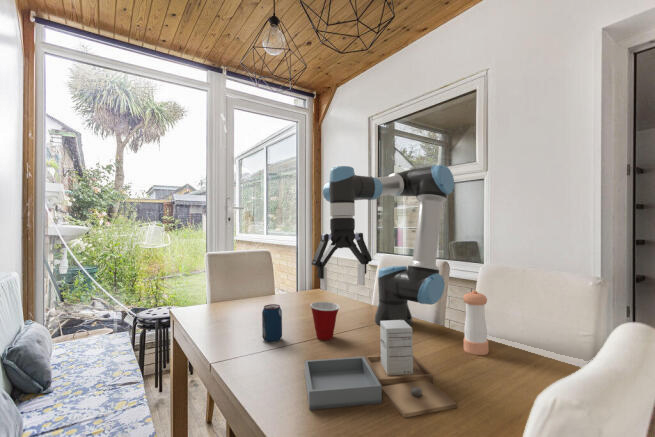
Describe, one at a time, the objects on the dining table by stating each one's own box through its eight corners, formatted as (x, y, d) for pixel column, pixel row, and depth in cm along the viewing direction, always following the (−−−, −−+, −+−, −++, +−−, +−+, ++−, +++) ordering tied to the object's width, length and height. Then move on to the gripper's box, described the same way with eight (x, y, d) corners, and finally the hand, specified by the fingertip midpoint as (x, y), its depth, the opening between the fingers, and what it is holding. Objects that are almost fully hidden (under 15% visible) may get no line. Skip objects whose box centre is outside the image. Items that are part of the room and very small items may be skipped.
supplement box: (380, 364, 94) (379, 320, 94) (405, 363, 95) (404, 319, 95) (386, 376, 87) (385, 328, 87) (413, 374, 87) (413, 327, 88)
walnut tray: (411, 359, 99) (411, 353, 99) (433, 382, 84) (433, 375, 85) (364, 362, 97) (364, 356, 97) (378, 386, 83) (378, 379, 83)
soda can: (285, 338, 119) (285, 304, 119) (275, 344, 112) (274, 309, 112) (269, 335, 121) (269, 303, 122) (258, 341, 115) (258, 307, 115)
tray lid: (426, 382, 84) (426, 374, 84) (456, 407, 73) (456, 398, 73) (380, 390, 81) (380, 381, 81) (404, 417, 69) (404, 408, 69)
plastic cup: (337, 344, 112) (337, 308, 112) (307, 342, 114) (306, 307, 114) (342, 333, 123) (342, 301, 123) (314, 331, 125) (314, 300, 125)
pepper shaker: (487, 347, 107) (485, 289, 107) (490, 356, 100) (488, 293, 100) (462, 345, 109) (461, 287, 110) (464, 353, 102) (463, 292, 103)
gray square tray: (364, 371, 91) (363, 356, 91) (381, 403, 75) (381, 385, 75) (304, 375, 89) (304, 360, 89) (309, 409, 73) (309, 391, 73)
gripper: (367, 217, 110) (368, 281, 109) (300, 217, 97) (300, 289, 97) (382, 217, 103) (383, 284, 103) (311, 217, 91) (312, 294, 90)
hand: (343, 287), depth 100 cm, fingers open, 13 cm apart
